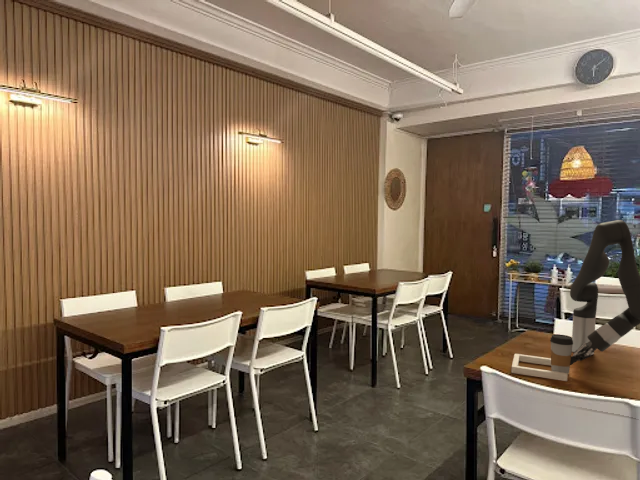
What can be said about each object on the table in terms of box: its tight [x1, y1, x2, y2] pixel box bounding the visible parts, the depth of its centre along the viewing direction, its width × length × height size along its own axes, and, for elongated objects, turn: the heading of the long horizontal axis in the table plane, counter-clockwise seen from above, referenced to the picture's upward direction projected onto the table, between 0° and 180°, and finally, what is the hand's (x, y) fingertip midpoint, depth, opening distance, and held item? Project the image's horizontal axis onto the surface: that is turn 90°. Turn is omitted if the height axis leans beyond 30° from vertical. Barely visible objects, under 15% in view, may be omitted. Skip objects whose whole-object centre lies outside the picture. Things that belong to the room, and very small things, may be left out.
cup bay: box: [511, 353, 568, 382], centre depth 192 cm, size 20×20×2 cm
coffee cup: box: [549, 333, 573, 376], centre depth 187 cm, size 8×8×15 cm
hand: (567, 363), depth 187 cm, fingers closed
